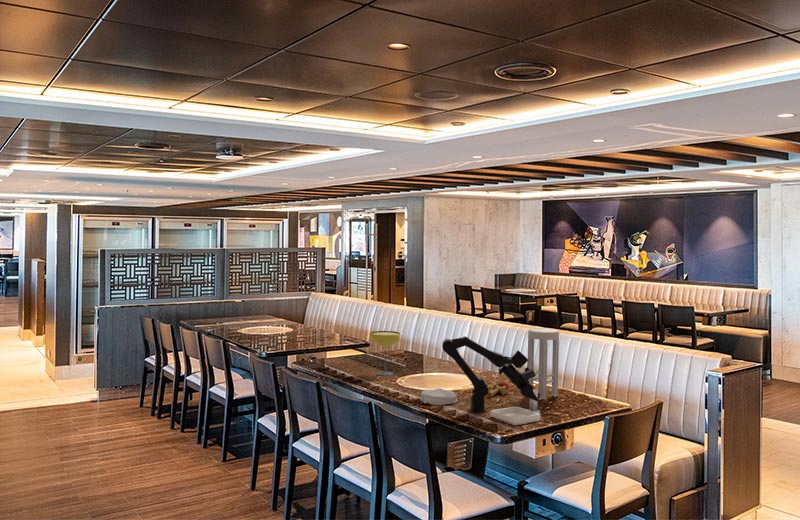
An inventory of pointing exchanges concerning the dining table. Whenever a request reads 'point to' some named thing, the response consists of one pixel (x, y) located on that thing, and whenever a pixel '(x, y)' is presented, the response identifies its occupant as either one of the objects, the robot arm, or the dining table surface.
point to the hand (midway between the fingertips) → (536, 398)
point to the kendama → (498, 389)
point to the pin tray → (515, 415)
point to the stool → (544, 359)
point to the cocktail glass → (385, 343)
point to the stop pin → (532, 402)
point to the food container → (438, 397)
